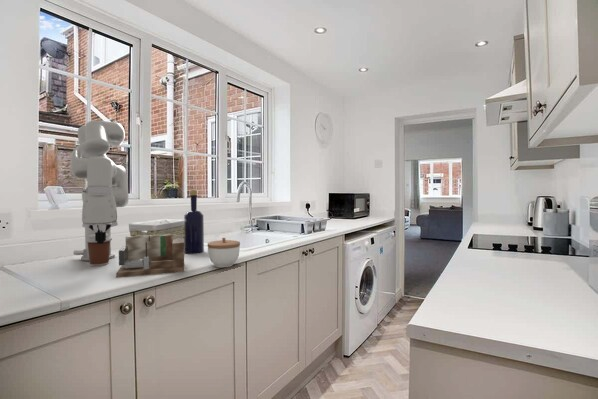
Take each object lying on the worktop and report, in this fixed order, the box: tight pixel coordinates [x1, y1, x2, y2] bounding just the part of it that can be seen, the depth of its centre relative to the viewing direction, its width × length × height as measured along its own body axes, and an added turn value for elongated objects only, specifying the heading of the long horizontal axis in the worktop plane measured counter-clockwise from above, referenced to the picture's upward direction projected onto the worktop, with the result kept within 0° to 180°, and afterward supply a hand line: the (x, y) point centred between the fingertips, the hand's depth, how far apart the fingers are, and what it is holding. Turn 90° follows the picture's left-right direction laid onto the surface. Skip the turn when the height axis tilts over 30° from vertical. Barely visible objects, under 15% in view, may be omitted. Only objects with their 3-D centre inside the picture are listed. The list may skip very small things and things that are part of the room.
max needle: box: [144, 242, 149, 269], centre depth 114 cm, size 2×1×10 cm
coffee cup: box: [86, 234, 113, 267], centre depth 129 cm, size 9×9×12 cm
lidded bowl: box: [207, 237, 241, 268], centre depth 127 cm, size 13×13×11 cm
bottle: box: [183, 189, 205, 255], centre depth 153 cm, size 9×9×30 cm
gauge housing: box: [115, 234, 185, 278], centre depth 120 cm, size 22×15×12 cm
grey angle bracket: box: [118, 245, 144, 269], centre depth 117 cm, size 8×11×7 cm
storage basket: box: [128, 218, 185, 248], centre depth 158 cm, size 24×16×15 cm
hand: (100, 243), depth 113 cm, fingers closed
